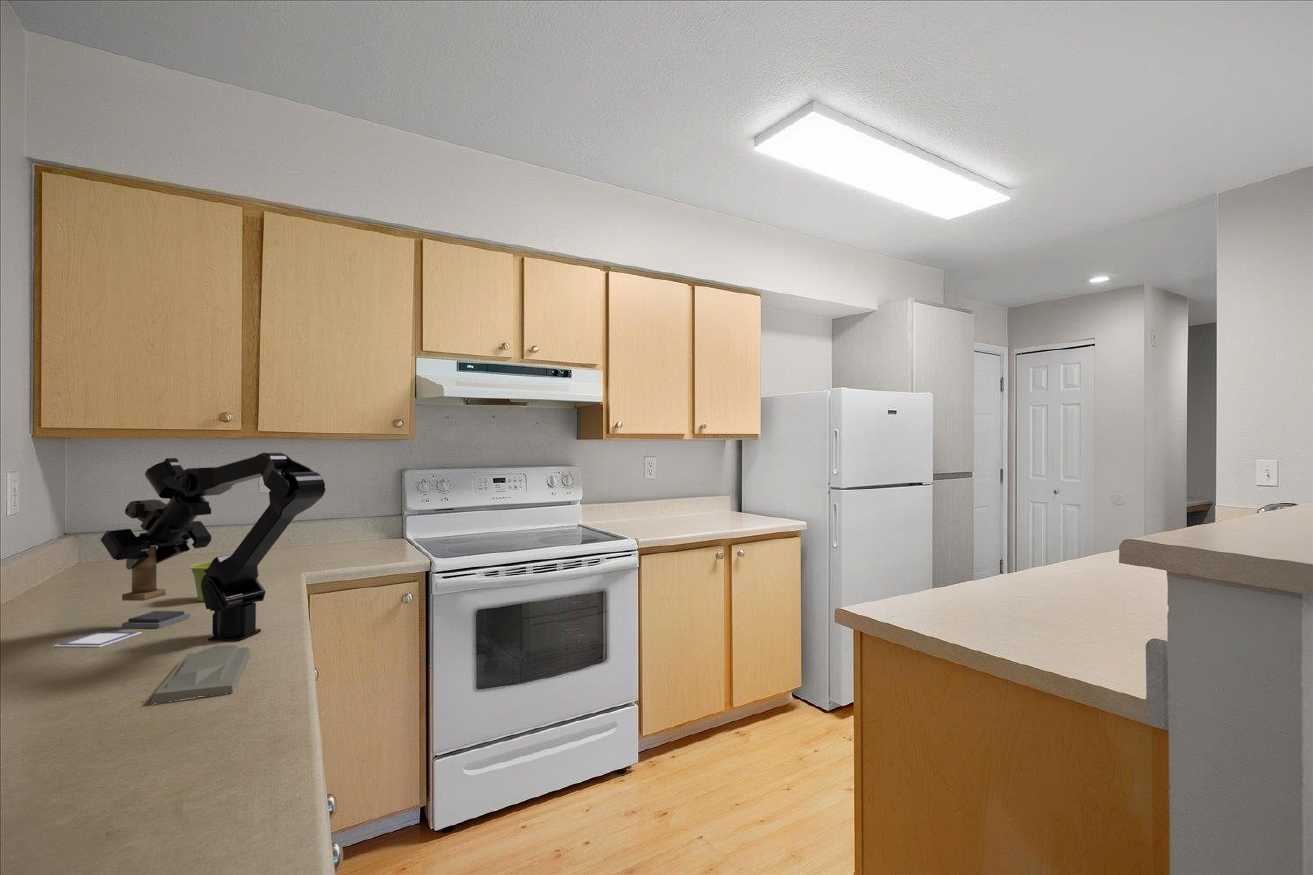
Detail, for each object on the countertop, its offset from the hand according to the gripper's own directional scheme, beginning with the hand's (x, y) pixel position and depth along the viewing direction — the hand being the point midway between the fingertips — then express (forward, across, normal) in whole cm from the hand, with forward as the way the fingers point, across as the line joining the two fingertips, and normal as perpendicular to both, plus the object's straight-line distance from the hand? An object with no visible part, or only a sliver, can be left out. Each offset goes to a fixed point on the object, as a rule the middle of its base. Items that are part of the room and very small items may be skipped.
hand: (139, 566), depth 130 cm
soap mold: (-21, +18, +40) cm, 49 cm away
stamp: (+4, 0, +6) cm, 7 cm away
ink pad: (+8, -3, +10) cm, 13 cm away
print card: (+6, +9, +11) cm, 16 cm away
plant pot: (+14, -22, +4) cm, 27 cm away
